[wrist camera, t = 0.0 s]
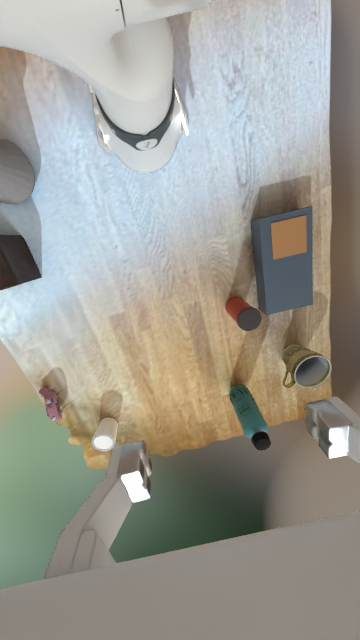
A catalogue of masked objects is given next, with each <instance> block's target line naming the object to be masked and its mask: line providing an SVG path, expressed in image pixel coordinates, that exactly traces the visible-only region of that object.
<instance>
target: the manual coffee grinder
mask: <svg viewBox="0 0 360 640" xmlns="http://www.w3.org/2000/svg"><path fill="white" fill-rule="evenodd" d="M39 278H41V275H40V272H39V269H38V267H37V265H36V263H35V261H34V258H33V256H32V254H31V252H30V250H29V248H28V246H27V244H26V242H25V240H24V238H23V237H22V236H21V235H0V290H4V289H7V288H10V287H13V286H16V285H20V284H22V283H25V282H28V281H32V280H35V279H39Z"/></svg>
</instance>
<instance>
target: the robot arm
mask: <svg viewBox="0 0 360 640" xmlns="http://www.w3.org/2000/svg"><path fill="white" fill-rule="evenodd" d="M213 1H215V0H0V46H2V47H7V48H12V49H16V50H20V51H24V52H27V53H30V54H33V55H36V56H39V57H42V58H44V59H46V60H49V61H51V62H53V63H55V64H57V65H59V66H61V67H63V68H65V69H66V70H68V71H70V72H72V73H73V74H75V75H76V76H78V77H80V78H81V79H83V80H84V81H85V82H87V84H88V88H89V91H90V93H92V97H93V108H94V113H95V121H96V128H97V136H98V142H99V145H100V146H101V147H102V148H103V149H104V150H106V151H108V152H110V153H113V154H114V155H115V156H116V157H117V158H118V159H119V160H120V161H121V162H122V163H123V164H124V165H126V166H127V167H128V168H130V169H132V170H134V171H137V172H142V173H150V172H154V171H157V170H159V169H161V168H162V167H164V166H165V165H166V164H167V163H168V162H169V160H170V159H171V157H172V156H173V154H174V152H175V149H176V146H177V143H178V140H179V138H180V137H181V135H182V134H183V133H184V132H186V135H188V133H189V132H188V129H187V126H188V118H187V115H186V112H185V109H184V106H183V103H182V100H181V97H180V94H179V91H178V88H177V85H176V82H175V79H174V76H173V64H174V45H173V38H172V33H171V29H170V26H169V23H168V20H167V17H170V16H174V15H178V14H182V13H186V12H190V11H194V10H198V9H201V8H203V7H205V6H206V5H208V4H210V3H212V2H213ZM102 134H103V136H102ZM304 410H305V412H306V415H305V416H304V421H305V425H306V428H307V429H308V431H309V433H310V434H311V436H312V437H313V438H315V439H317V440H319V446H320V448H321V449H322V450H323V452H324V453H325V454H326V456H327V457H328V458H334V457H340V456H345V455H348V457H350V458H352V459H353V460H355V461H356V462H358V463H360V417H359V416H358V415H357V414H356V413H355V412H354V411H353V410H351V409H350V408H349V407H348V406H347V405H346V404H345V403H344V402H342V401H341V400H340V399H339V398H338V397H331V398H327V399H322V400H318V401H314V402H310V403H306V404H305V405H304ZM151 473H152V464H151V457H150V453H149V451H147V450H146V443H145V441H138V442H133V443H127V444H123V445H118V446H114V448H113V449H112V453H111V457H110V461H109V465H108V469H107V473H106V477H105V480H102V481H101V482H100V484H99V485H98V486H97V487H96V489H95V490H94V491H93V493H92V494H91V495H90V496H89V498H88V499H87V500H86V501H85V503H84V504H83V505H82V507H81V508H80V509H79V510H78V512H77V513H76V514H75V516H74V517H73V518H72V519H71V521H70V522H69V523H68V525H67V526H66V527H65V528H64V530H63V531H62V532H61V534H60V535H59V537H58V540H57V543H56V545H55V548H54V551H53V553H52V556H51V559H50V562H49V565H48V567H47V570H46V573H45V576H44V578H43V580H39V581H34V582H30V583H25V584H20V585H15V586H11V587H6V588H2V589H0V640H360V510H359V511H355V512H350V513H346V514H341V515H336V516H331V517H327V518H322V519H318V520H313V521H308V522H304V523H300V524H295V525H290V526H286V527H281V528H277V529H272V530H267V531H263V532H258V533H254V534H249V535H244V536H240V537H236V538H231V539H226V540H222V541H217V542H213V543H208V544H204V545H199V546H194V547H190V548H185V549H181V550H176V551H171V552H167V553H162V554H158V555H153V556H149V557H144V558H139V559H135V560H130V561H126V562H121V563H117V564H116V562H115V561H114V559H113V558H112V556H111V554H110V553H109V551H108V550H109V548H110V546H111V544H112V543H113V540H114V539H115V537H116V535H117V533H118V531H119V529H120V527H121V525H122V523H123V521H124V519H125V517H126V515H127V513H128V511H129V509H130V508H131V505H132V503H133V502H137V501H141V500H145V499H149V498H150V490H151V489H150V488H151V482H150V479H149V476H150V475H151Z"/></svg>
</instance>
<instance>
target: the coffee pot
mask: <svg viewBox="0 0 360 640" xmlns="http://www.w3.org/2000/svg"><path fill="white" fill-rule="evenodd" d="M34 185H35V177H34V173H33V169H32V166H31V164H30V162H29V160H28V158H27V157H26V156H25V154H24V153H23V152H22V151H21V150H20V149H19V148H18V147H17V146H16V145H15V144H13V143H11V142H9V141H8V140H6V139H2V138H0V202H1V203H5V204H18V203H21V202H24V201H25V200H26V199H27V198H28V197H30V195H31V193H32V192H33V189H34Z"/></svg>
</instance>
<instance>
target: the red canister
mask: <svg viewBox="0 0 360 640" xmlns="http://www.w3.org/2000/svg"><path fill="white" fill-rule="evenodd" d="M226 311H227V312H228V313H229V315H230V316H231V317H232V318H233V319H234V320H235V321H236V322H237V324H238V326H239V327H240V328H241V329H243V330H245V331H251V330H254V329H256V328H257V327H258V326H259V324H260V323H261V314H260V312H259V311H258V310H257V309H255V308H253V307H252V306H250V305H249V304H248V303H246V302H245V301H244V300H242V299H241V298H239V297H233V298H231V299H229V300H228V302H227V303H226Z"/></svg>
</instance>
